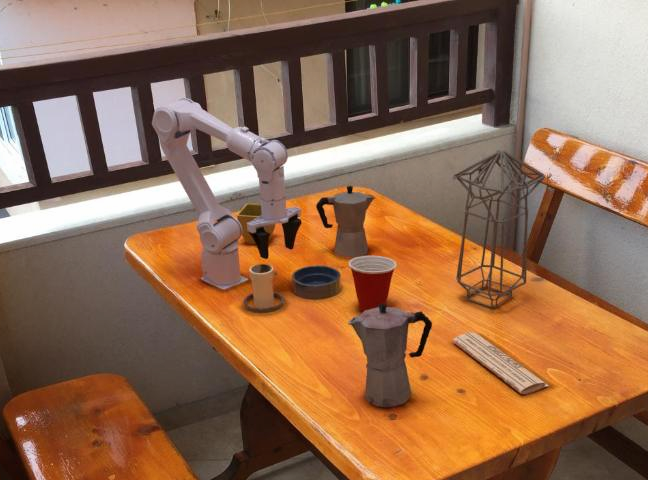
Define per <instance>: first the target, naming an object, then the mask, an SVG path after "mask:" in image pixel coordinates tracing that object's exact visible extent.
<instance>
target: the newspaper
mask: <svg viewBox="0 0 648 480" xmlns="http://www.w3.org/2000/svg"><path fill="white" fill-rule="evenodd" d="M452 342H453V344H455V345H457V346H458V348H461V349H462V350H463V351H464V352H466V353H467V354H468V355H469V356H471V358H474V359H475V360H476V361H478V363H480V364H481V365H482V366H483V367H485V368H487V369H488V370H489V371H490V372H492V373H493V374H495V375H496V376H497V377H499V378H500V379H501V380H503V381H504V382H505V383H506V384H508V385H509V386H510V387H512V388H513V389H514V390H516V391H517V392H518V393H520V394H521V395H528V394H532V393H535V392H536V391H539V390H541V389H544V388H546V387H550V385H549V384H548V383H546V382H545V381H544V380H542V379H541V378H539V377H538V376H536V375H535V374H534V373H533V372H531V371H530V370H528V369H527V368H525V367H524V366H523V365H521V364H520V363H518V362H517V361H515V359H513V358H511V357H510V356H509V355H508V354H506V353H505V352H504V351H502V350H500V349H499V348H498V347H496V346H495V345H494V344H492V343H491V342H489V341H488V340H486V338H484V337H482V336H481V335H480V334H478V333H477V332H466V333H463V334H460V335H457V336H456V337H454V338H452Z"/></svg>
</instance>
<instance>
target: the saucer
mask: <svg viewBox="0 0 648 480" xmlns="http://www.w3.org/2000/svg"><path fill="white" fill-rule="evenodd" d="M274 298H277V299H278V300H280V302H279V303H278V304H275V305H273V306H272V307H269V308H257V307H255V306H250V305H249V304H248V302H249V301H250V300H253V292H251V293H250V294H248V295H246V296H245V297H244V298H243V300H242V302H243V304H242V305H243V308H244V309H245V310H246V311H248V312H250V313H254V314H270V313H274V312H276V311H279V310H280V309H282V308H283V307H284V305H285V298H284V296H283V294H281V293H279V292H275V291H274Z"/></svg>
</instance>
